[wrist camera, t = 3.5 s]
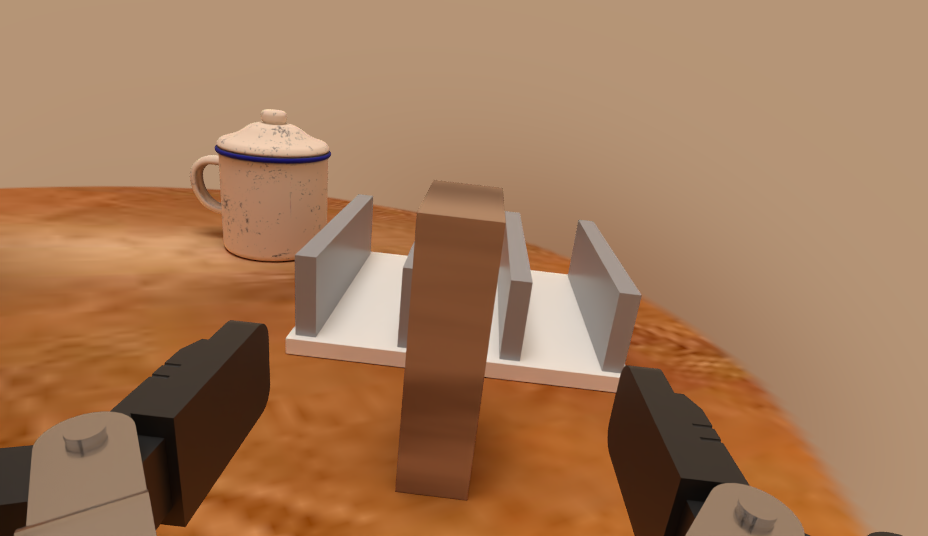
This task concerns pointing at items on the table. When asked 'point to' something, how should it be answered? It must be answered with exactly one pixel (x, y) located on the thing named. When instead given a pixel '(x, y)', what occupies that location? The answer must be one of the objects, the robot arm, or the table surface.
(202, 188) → the teacup with lid
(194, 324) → the table surface
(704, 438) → the robot arm
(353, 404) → the table surface
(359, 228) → the rack
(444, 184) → the walnut board
